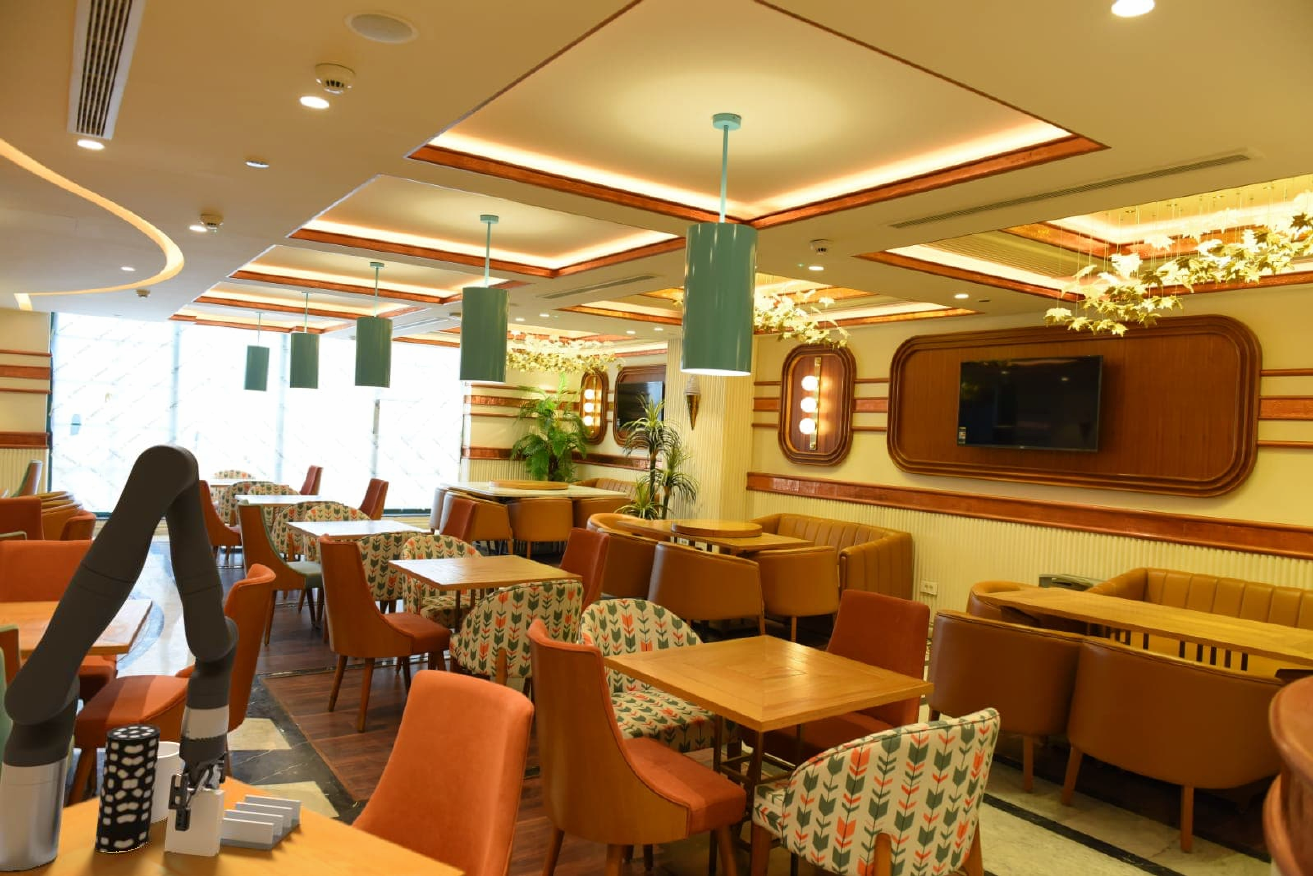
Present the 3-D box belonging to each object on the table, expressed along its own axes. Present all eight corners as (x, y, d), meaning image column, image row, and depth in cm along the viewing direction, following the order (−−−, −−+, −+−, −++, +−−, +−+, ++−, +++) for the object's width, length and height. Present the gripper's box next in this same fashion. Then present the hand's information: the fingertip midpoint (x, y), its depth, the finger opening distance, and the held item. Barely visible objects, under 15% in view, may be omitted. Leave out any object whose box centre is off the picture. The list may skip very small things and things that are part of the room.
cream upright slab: (164, 851, 153) (170, 789, 154) (171, 846, 155) (177, 785, 156) (213, 857, 153) (219, 794, 153) (219, 852, 155) (225, 790, 155)
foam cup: (187, 817, 167) (194, 750, 168) (137, 832, 160) (145, 762, 160) (161, 803, 172) (168, 738, 173) (112, 817, 165) (119, 749, 165)
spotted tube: (123, 857, 150) (135, 742, 151) (83, 849, 152) (95, 735, 152) (159, 838, 158) (171, 729, 159) (121, 830, 160) (132, 722, 160)
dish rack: (210, 843, 158) (213, 819, 158) (245, 817, 170) (247, 794, 170) (269, 850, 157) (271, 825, 157) (299, 823, 169) (301, 800, 169)
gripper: (207, 715, 162) (197, 803, 162) (159, 739, 148) (149, 835, 147) (245, 719, 162) (236, 807, 161) (202, 744, 148) (192, 840, 147)
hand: (195, 820), depth 154 cm, fingers open, 7 cm apart
